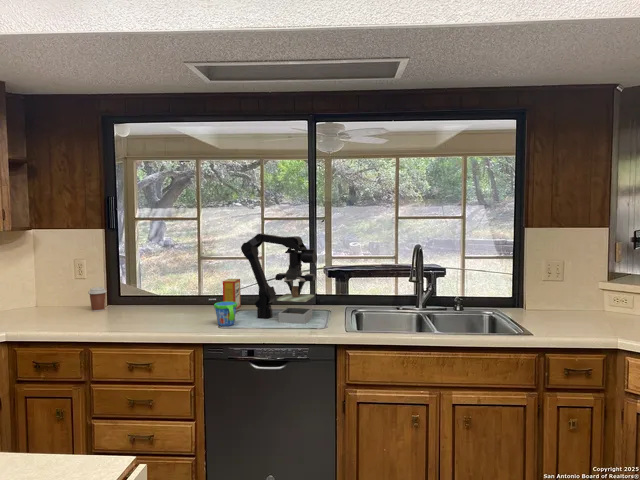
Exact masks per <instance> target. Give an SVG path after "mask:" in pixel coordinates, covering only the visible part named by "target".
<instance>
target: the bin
mask: <svg viewBox="0 0 640 480" xmlns="http://www.w3.org/2000/svg"><path fill="white" fill-rule="evenodd" d="M292 313H300V314H292ZM312 319H313V308H306V307H304V308H303V307H286V308H285V309H283V310H281V311H280V312H278V323H280V324H281V323H283V324H284V323H285V324H295V325H296V324H298V325H300V324H301V325H306V324H307V323H308V322H310V320H312Z"/></svg>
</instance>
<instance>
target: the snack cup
mask: <svg viewBox="0 0 640 480" xmlns="http://www.w3.org/2000/svg"><path fill="white" fill-rule="evenodd" d="M213 306H214V309H215V315H216V320H217V325H218V326H221V327H229V326H233V325H234V324H235V321H236V313H237V309H236V307H237V303H236V302H231V301H226V302H223V301H217V302H216V303H214V304H213Z"/></svg>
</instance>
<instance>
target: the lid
mask: <svg viewBox="0 0 640 480" xmlns="http://www.w3.org/2000/svg"><path fill="white" fill-rule="evenodd" d="M298 288H299V285H293V287H292V294H291V293H285V294H284V295H282V296H279V297H278V298H276V301H281V302H298V303H299V302H301V303H302V302H303V303H305V302H308V301H309V300H311V299H313V298H314V297H315V294H310V293H309V294H303V293H300V295H298Z"/></svg>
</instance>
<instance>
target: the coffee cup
mask: <svg viewBox="0 0 640 480" xmlns="http://www.w3.org/2000/svg"><path fill="white" fill-rule="evenodd" d="M107 291H108V290H106V289H105V287H104V286H103V287H102V286H97V287H91V288H90V289H89V291H88V293H87V294H88V295H89V299H90V307H91V308H90V309H91V312H103V311H105V310H106V309H105V307H106V293H107Z"/></svg>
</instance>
